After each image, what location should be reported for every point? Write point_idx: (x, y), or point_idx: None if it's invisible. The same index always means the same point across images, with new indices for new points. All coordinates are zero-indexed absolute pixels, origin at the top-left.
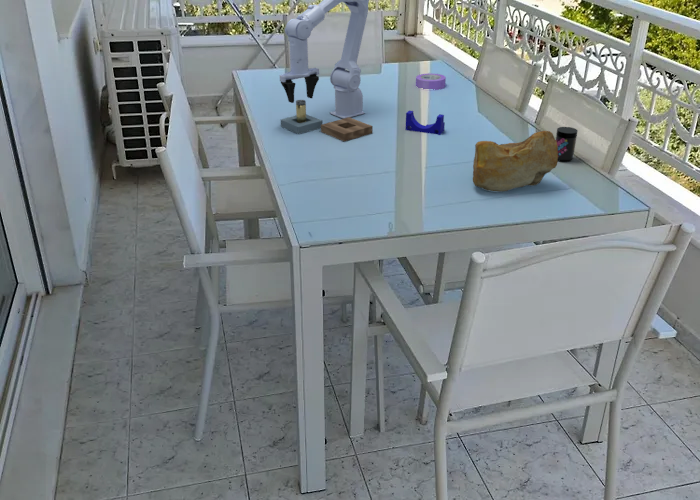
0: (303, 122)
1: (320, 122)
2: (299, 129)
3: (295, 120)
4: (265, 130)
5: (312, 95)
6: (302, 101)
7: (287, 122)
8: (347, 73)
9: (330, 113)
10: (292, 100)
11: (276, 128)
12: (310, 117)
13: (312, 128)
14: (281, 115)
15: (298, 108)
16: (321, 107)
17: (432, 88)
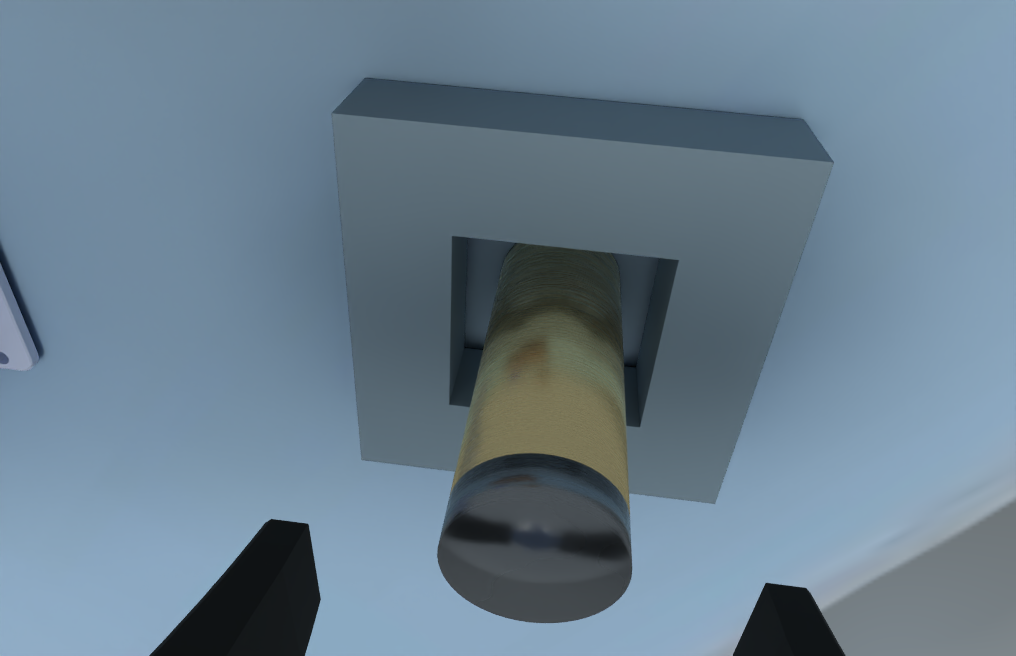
0: (577, 274)
1: (377, 109)
2: (798, 142)
3: None
4: (899, 470)
5: (250, 562)
6: (525, 538)
7: (752, 394)
8: None
9: (35, 355)
10: (829, 634)
11: (775, 437)
12: (391, 326)
13: (545, 104)
14: (462, 597)
15: (625, 461)
16: (49, 514)
17: None
